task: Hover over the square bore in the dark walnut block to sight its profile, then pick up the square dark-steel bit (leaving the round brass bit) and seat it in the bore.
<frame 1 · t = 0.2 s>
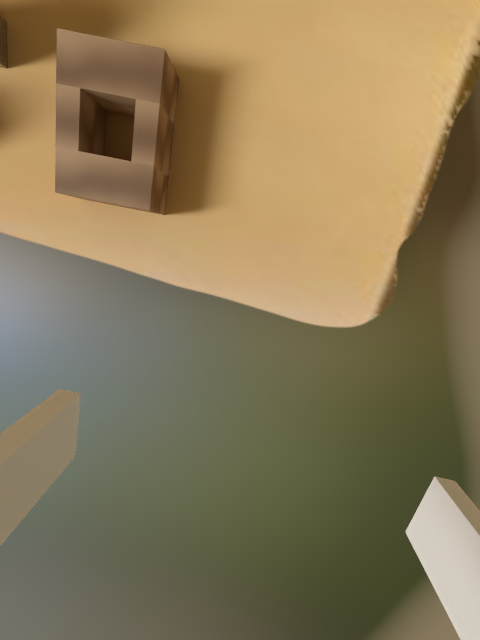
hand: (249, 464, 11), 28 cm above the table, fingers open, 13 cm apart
bore block: (128, 142, 33), on the table
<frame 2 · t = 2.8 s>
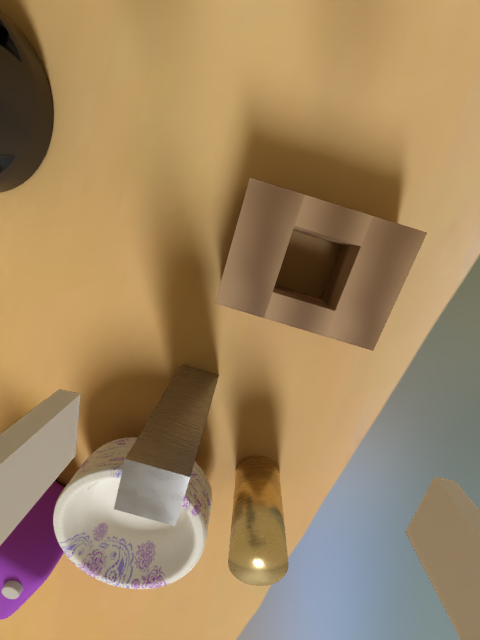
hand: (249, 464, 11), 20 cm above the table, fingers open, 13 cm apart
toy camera: (44, 508, 38), on the table
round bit: (257, 474, 34), on the table
paper bowls: (155, 471, 35), on the table
square bit: (195, 386, 32), on the table
bore block: (305, 264, 28), on the table
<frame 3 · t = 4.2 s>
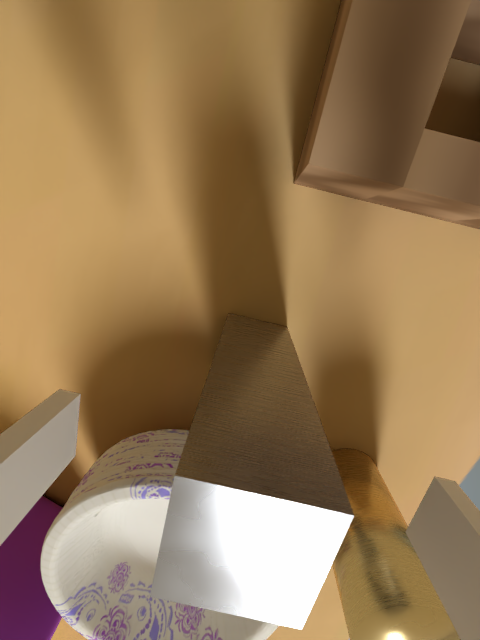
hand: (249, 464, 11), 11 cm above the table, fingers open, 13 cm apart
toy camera: (39, 537, 27), on the table
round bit: (344, 475, 23), on the table
paper bowls: (192, 478, 24), on the table
square bit: (250, 347, 20), on the table
bore block: (439, 117, 16), on the table
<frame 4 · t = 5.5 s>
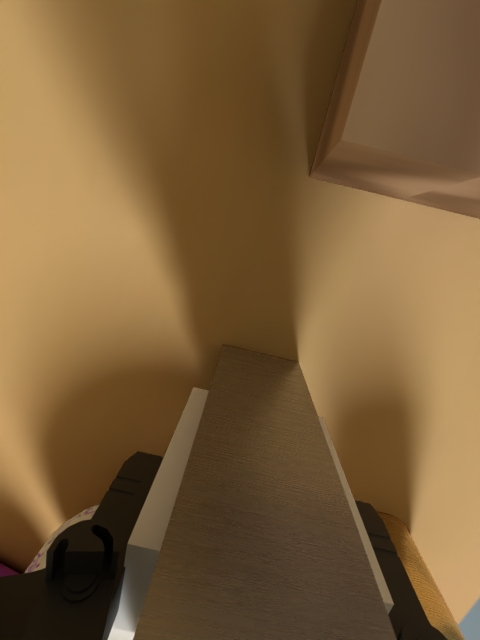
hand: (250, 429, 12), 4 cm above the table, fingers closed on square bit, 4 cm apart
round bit: (368, 542, 19), on the table
paper bowls: (179, 542, 20), on the table
square bit: (251, 387, 16), on the table, touching gripper
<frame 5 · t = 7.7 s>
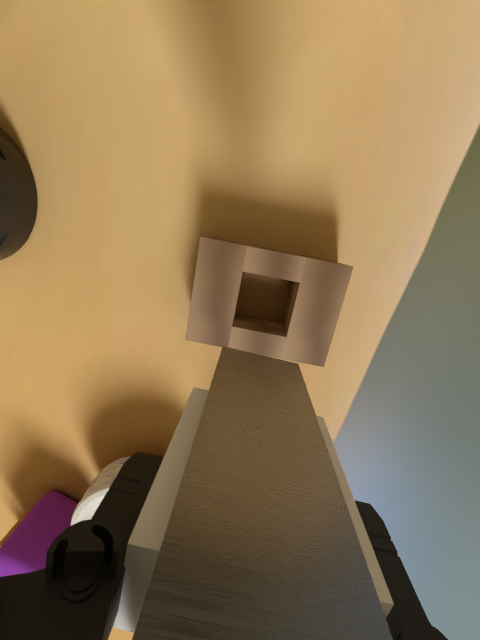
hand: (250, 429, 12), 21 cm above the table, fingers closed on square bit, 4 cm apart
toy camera: (64, 523, 43), on the table
paper bowls: (157, 482, 40), on the table
square bit: (251, 388, 16), point 17 cm above the table, touching gripper
bore block: (263, 295, 32), on the table
when the fingers open (6 cm above the table, at t = 10.1 s): square bit drops 2 cm, resting in bore block.
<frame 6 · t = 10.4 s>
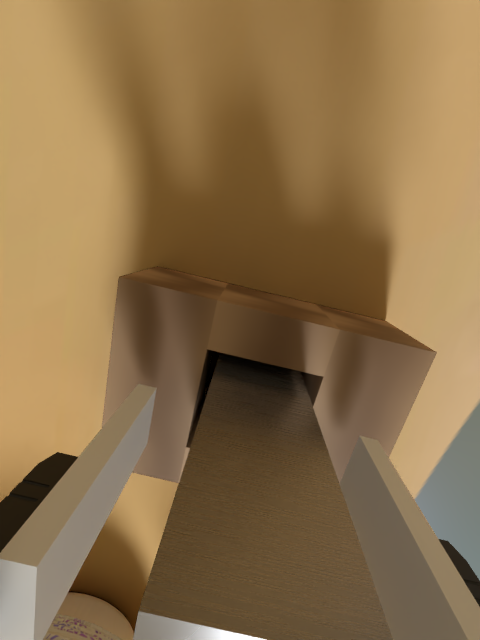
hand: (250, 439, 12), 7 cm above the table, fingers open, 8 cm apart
paper bowls: (83, 622, 26), on the table
square bit: (251, 368, 18), resting in bore block
bore block: (252, 368, 18), on the table
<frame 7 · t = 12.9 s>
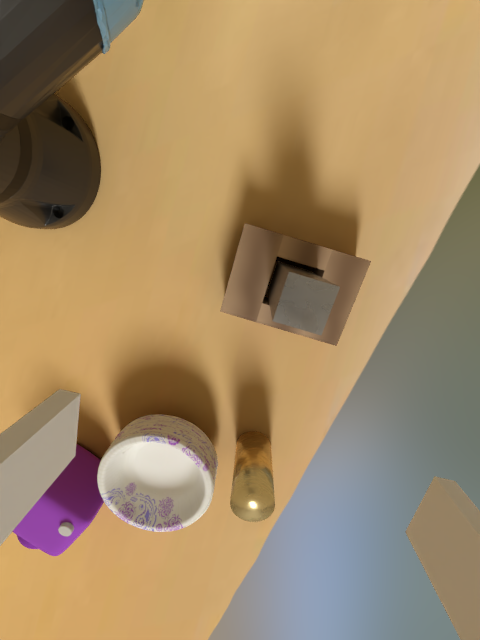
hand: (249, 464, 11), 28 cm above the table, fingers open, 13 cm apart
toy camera: (81, 476, 47), on the table
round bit: (253, 446, 43), on the table
paper bowls: (171, 444, 44), on the table
square bit: (287, 281, 36), resting in bore block
bore block: (288, 281, 36), on the table
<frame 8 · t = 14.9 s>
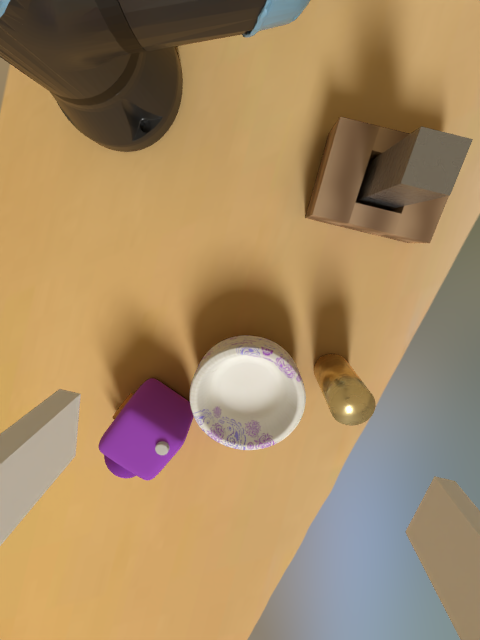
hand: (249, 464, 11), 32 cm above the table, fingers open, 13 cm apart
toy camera: (156, 414, 47), on the table
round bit: (331, 369, 43), on the table
paper bowls: (248, 373, 45), on the table
square bit: (369, 190, 37), resting in bore block
bore block: (369, 190, 36), on the table
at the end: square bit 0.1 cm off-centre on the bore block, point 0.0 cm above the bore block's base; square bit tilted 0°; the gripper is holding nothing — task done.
